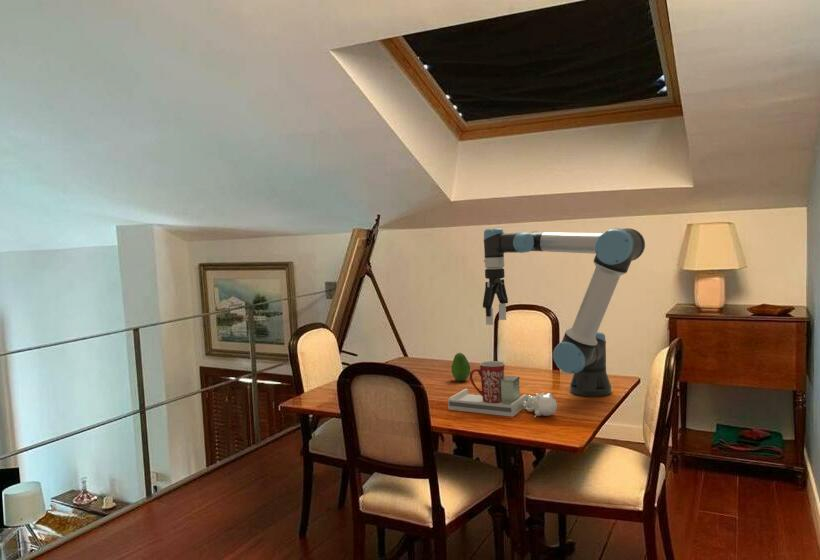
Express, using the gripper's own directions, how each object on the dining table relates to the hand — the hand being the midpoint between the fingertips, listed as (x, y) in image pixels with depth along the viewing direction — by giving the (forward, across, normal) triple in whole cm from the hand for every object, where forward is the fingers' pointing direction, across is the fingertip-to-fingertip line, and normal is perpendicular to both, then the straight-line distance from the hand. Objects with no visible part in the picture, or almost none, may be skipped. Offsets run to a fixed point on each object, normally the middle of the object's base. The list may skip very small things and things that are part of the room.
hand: (496, 322), depth 242 cm
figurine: (+27, +26, +25) cm, 45 cm away
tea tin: (+25, +25, +14) cm, 38 cm away
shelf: (+27, +25, +6) cm, 37 cm away
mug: (+25, +24, +6) cm, 35 cm away
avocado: (+27, -8, -20) cm, 34 cm away
